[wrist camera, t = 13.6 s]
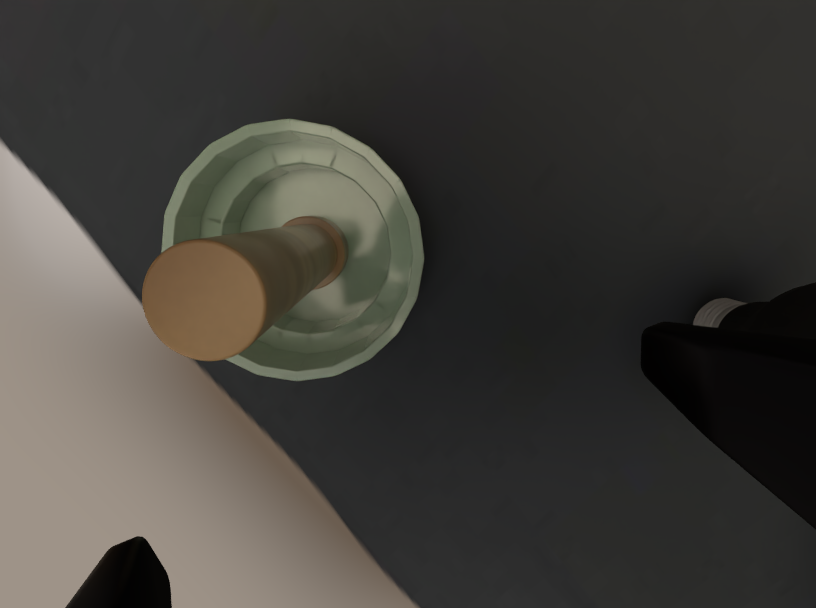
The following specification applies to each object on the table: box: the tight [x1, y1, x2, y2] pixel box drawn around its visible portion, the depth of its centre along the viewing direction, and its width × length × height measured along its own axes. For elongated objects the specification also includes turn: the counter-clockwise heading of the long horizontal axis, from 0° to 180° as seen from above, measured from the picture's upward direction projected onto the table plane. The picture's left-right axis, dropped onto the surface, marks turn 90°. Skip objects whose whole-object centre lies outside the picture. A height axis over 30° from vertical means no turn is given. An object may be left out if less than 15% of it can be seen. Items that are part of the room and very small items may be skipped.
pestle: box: [142, 216, 349, 361], centre depth 15 cm, size 3×3×12 cm
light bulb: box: [693, 282, 816, 339], centre depth 18 cm, size 6×6×10 cm
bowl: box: [161, 119, 424, 381], centre depth 19 cm, size 9×9×5 cm
